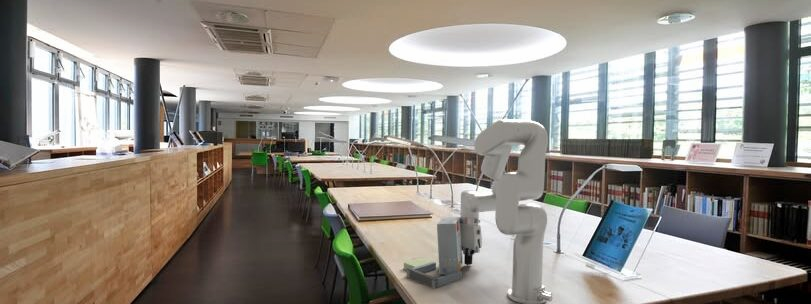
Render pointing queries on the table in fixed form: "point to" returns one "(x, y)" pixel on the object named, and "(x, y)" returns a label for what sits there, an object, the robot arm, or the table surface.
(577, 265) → the table surface
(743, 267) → the table surface
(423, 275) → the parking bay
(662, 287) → the table surface
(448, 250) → the hard drive box
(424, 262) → the light green block
